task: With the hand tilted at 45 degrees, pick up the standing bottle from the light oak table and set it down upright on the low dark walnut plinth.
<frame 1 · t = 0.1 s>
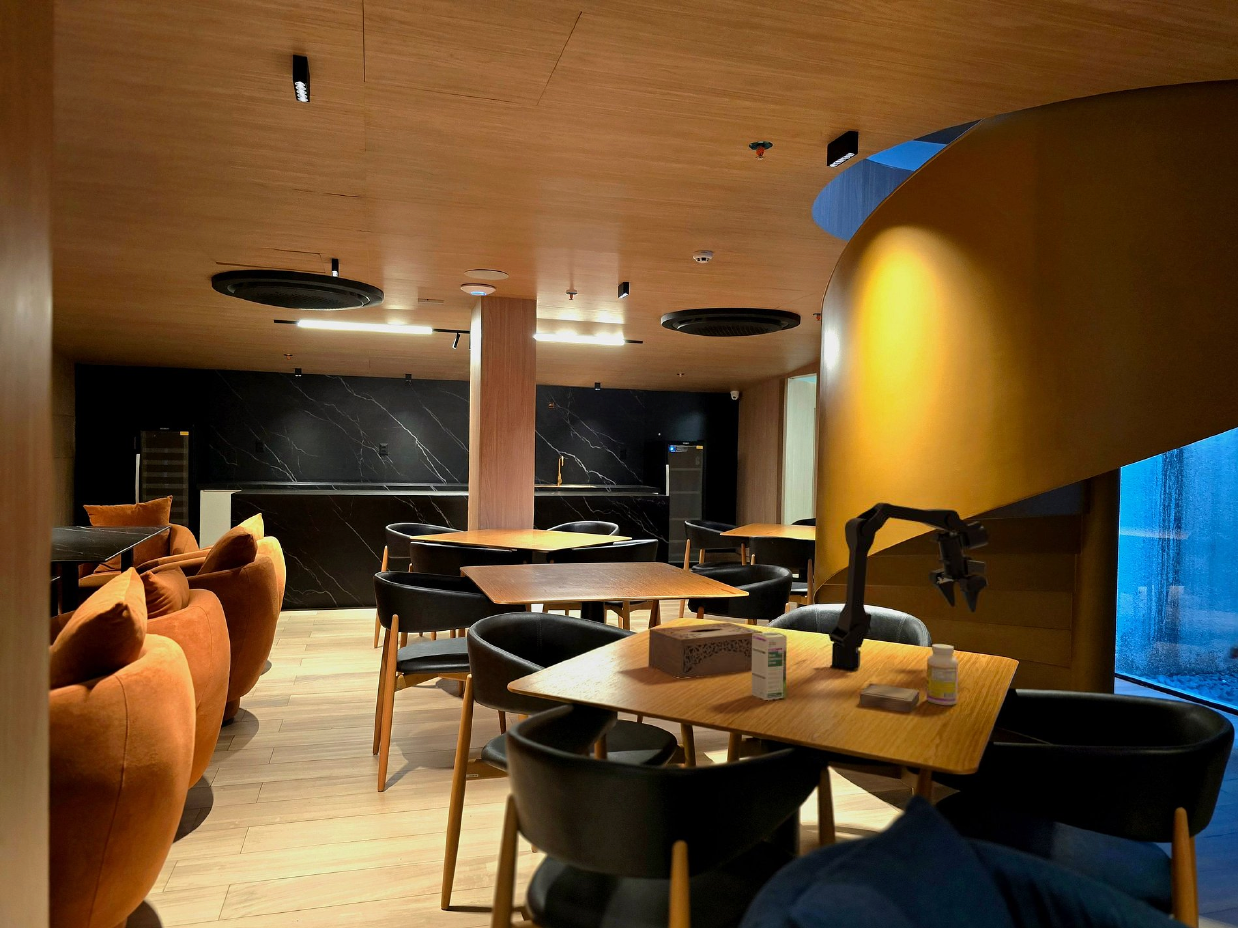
hand: (963, 609, 233), 15 cm above the table, tool pointing down, fingers open, 9 cm apart
supplement bottle: (941, 702, 194), on the table
tissue box cover: (704, 669, 221), on the table
syrup box: (767, 697, 194), on the table
plinth: (889, 702, 192), on the table
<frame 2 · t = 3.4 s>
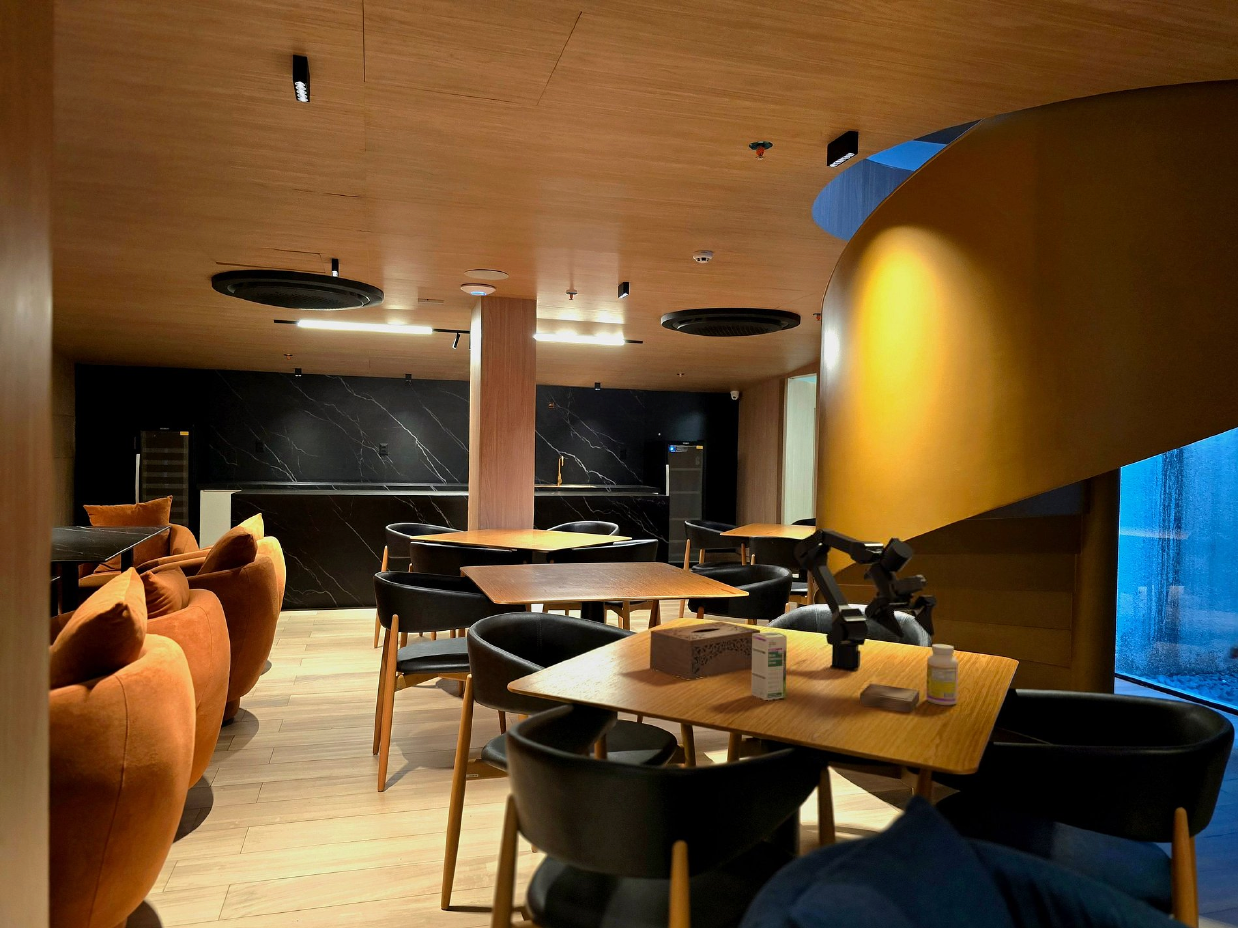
hand: (918, 636, 202), 13 cm above the table, tool tilted 45°, fingers open, 9 cm apart
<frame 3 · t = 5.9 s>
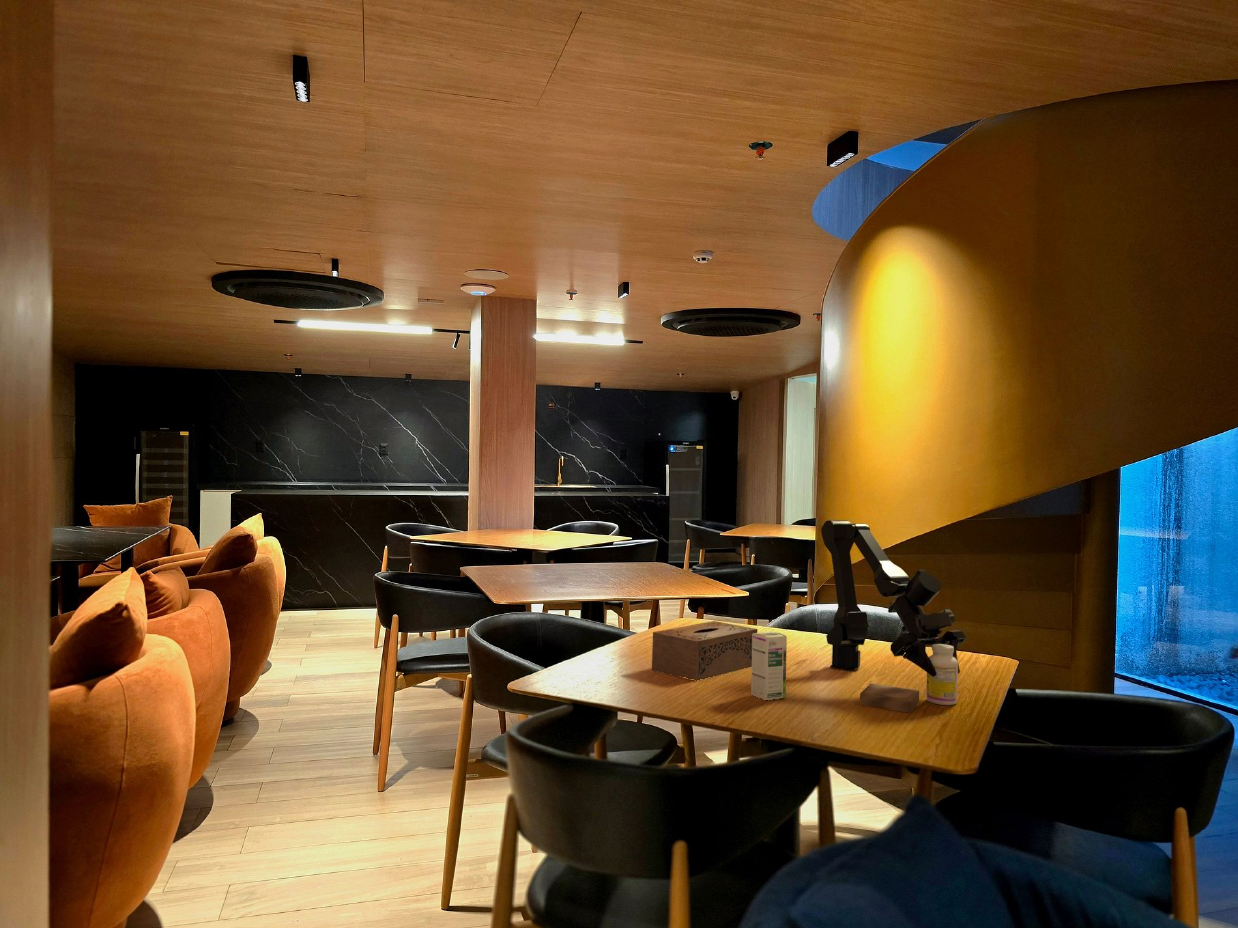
hand: (946, 674, 193), 7 cm above the table, tool tilted 45°, fingers closed on supplement bottle, 7 cm apart
supplement bottle: (941, 702, 194), on the table, touching gripper
when the fingers open (10 cm above the table, at t = 9.6 s): supplement bottle stays where it is, resting on plinth.
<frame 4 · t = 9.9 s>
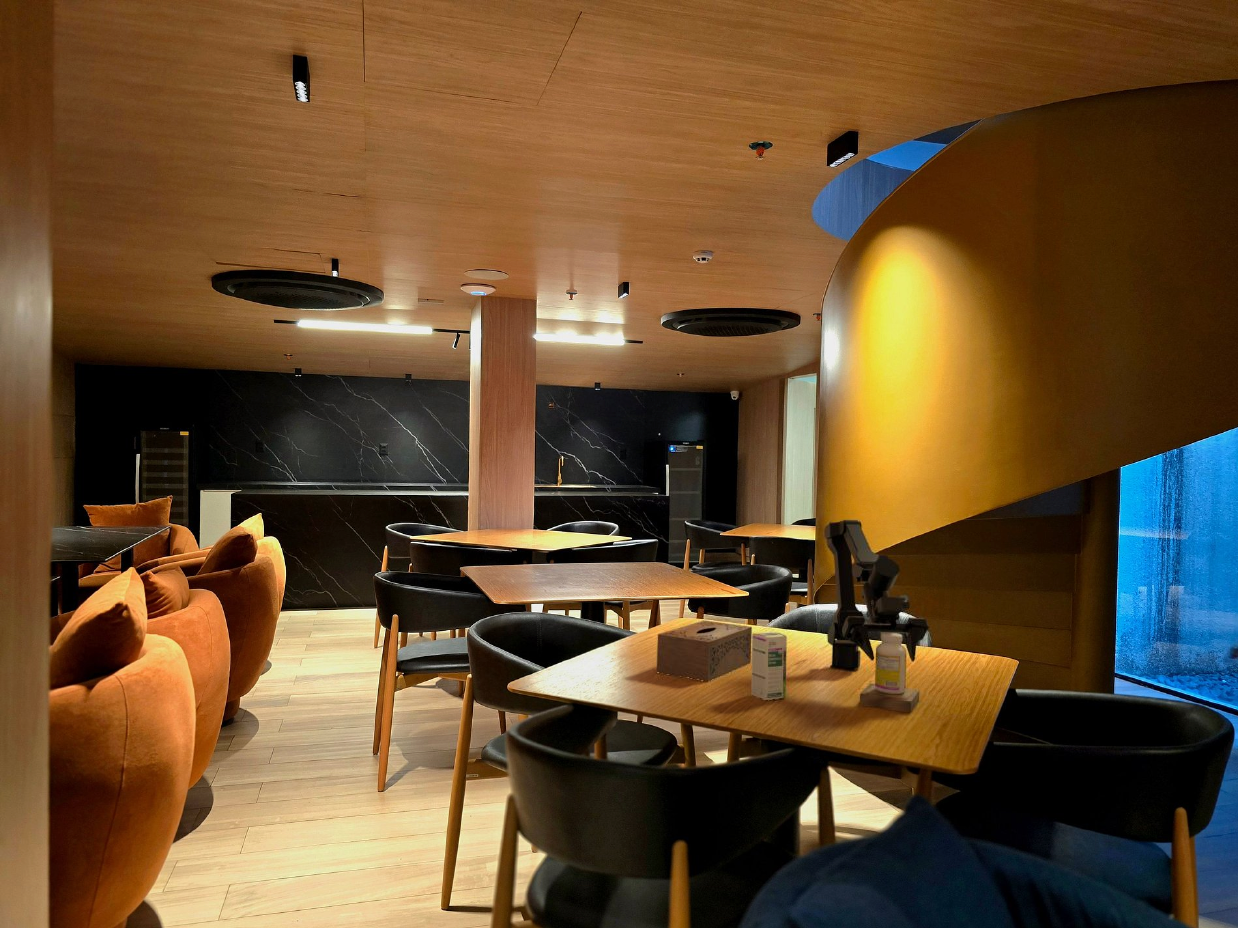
hand: (893, 659, 191), 10 cm above the table, tool tilted 45°, fingers open, 9 cm apart
supplement bottle: (889, 691, 192), point 2 cm above the table, touching plinth
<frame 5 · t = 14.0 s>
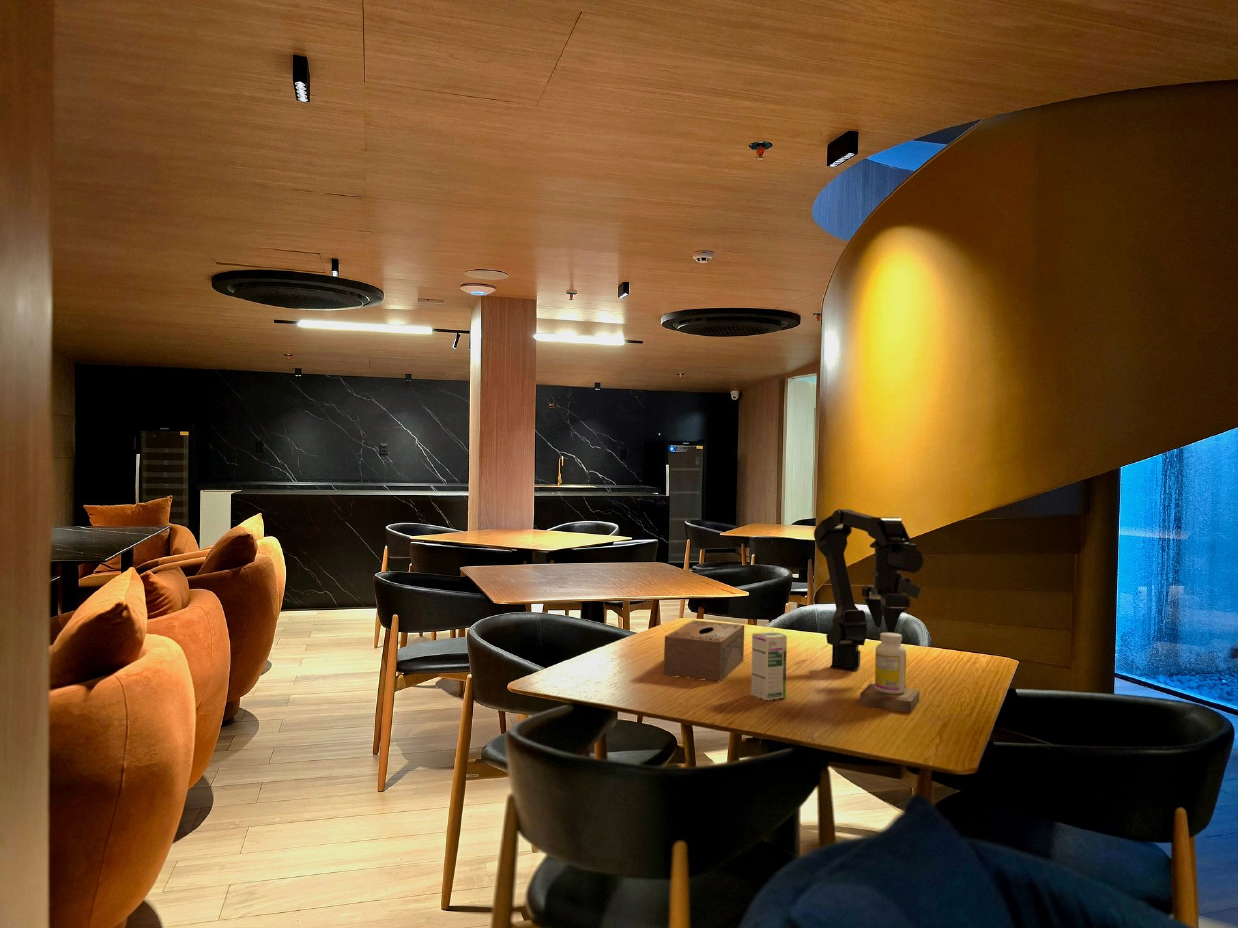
hand: (884, 630, 210), 13 cm above the table, tool pointing down, fingers open, 9 cm apart
at the end: supplement bottle inside the target area on the plinth (0.2 cm from its centre), point 2.5 cm above the plinth's base; supplement bottle tilted 0°; the gripper is holding nothing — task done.
